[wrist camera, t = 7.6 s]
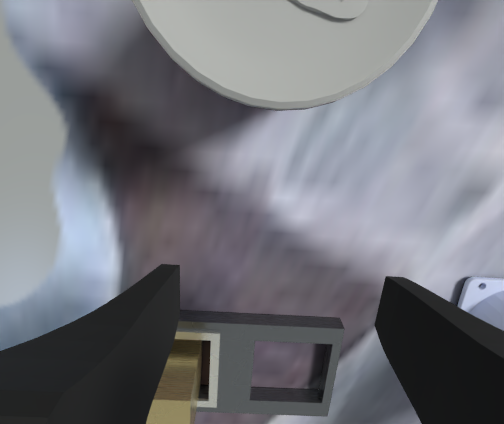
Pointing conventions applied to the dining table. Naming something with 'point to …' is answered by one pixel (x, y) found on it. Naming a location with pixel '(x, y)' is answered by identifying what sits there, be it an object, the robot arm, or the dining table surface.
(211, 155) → the dining table surface
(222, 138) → the dining table surface
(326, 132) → the dining table surface
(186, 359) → the brass block
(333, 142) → the dining table surface
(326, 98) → the canned food
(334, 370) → the grey double window frame
